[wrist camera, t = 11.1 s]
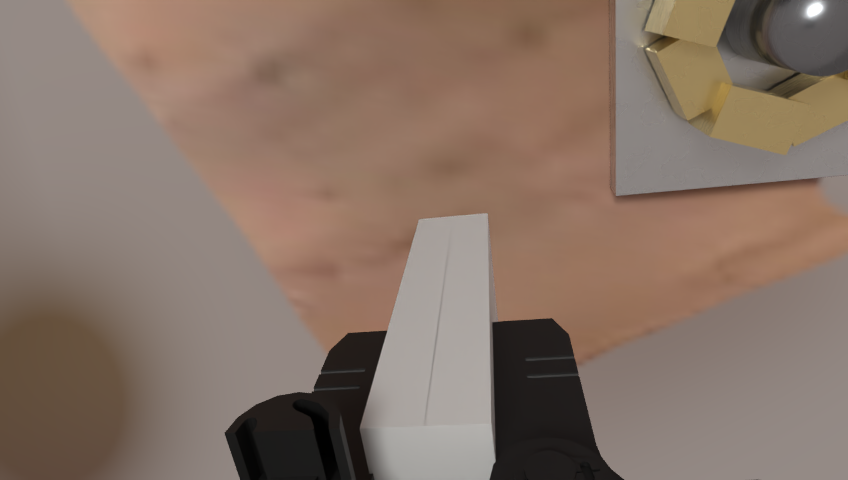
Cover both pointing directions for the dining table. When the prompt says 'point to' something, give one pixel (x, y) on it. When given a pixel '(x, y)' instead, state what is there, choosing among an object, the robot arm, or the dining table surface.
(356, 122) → the dining table surface
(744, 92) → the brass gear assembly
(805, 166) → the cap plate
